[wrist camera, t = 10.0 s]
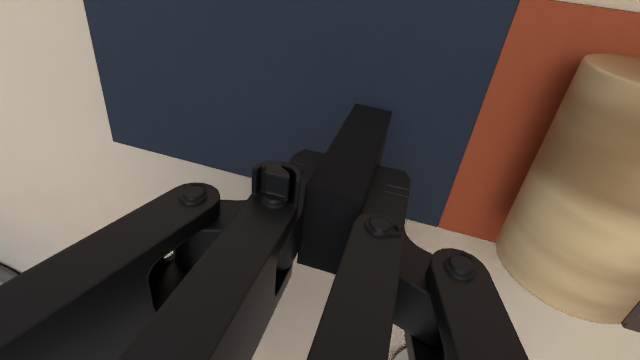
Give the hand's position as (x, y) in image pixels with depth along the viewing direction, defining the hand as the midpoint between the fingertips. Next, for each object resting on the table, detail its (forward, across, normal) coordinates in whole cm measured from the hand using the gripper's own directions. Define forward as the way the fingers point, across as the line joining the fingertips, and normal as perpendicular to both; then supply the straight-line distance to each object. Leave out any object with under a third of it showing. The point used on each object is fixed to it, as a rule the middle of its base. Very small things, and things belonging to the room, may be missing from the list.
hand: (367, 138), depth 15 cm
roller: (0, -9, 0) cm, 9 cm away
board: (+3, +1, 0) cm, 3 cm away
